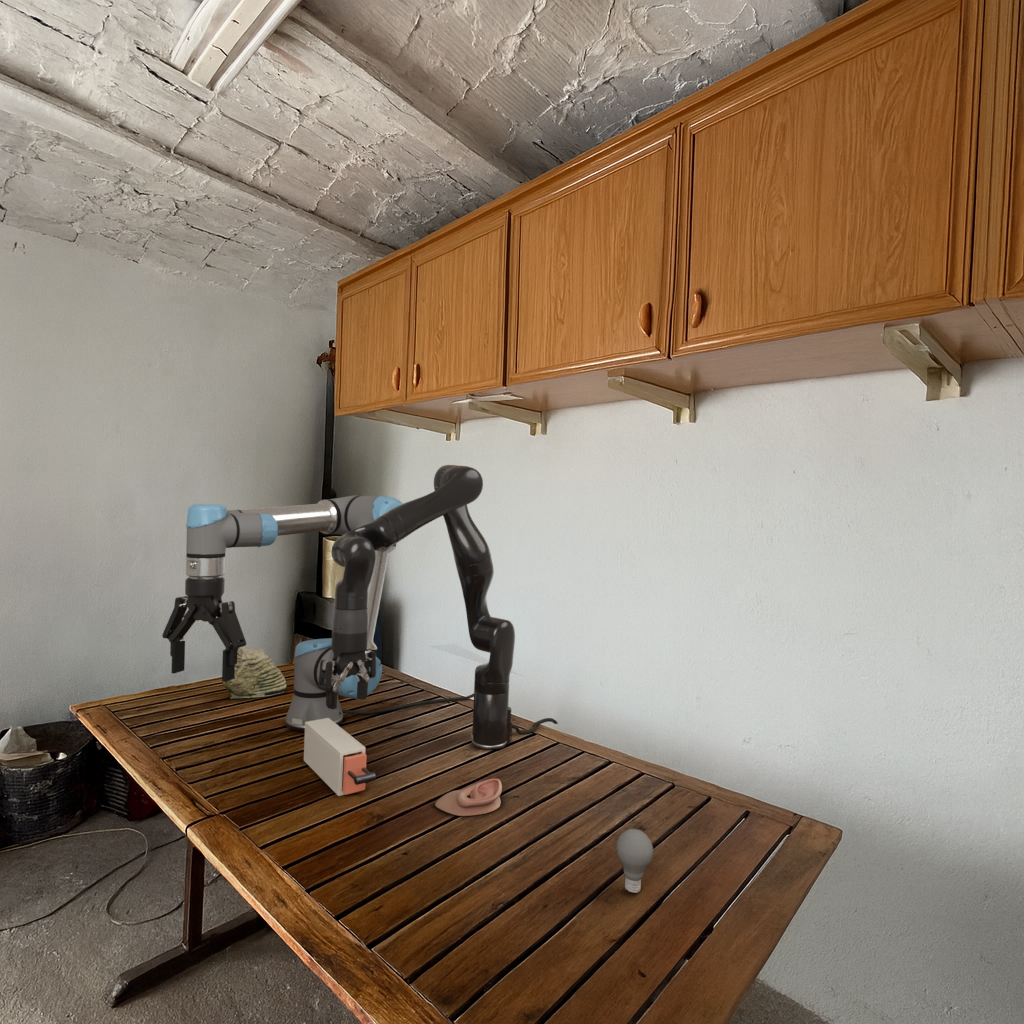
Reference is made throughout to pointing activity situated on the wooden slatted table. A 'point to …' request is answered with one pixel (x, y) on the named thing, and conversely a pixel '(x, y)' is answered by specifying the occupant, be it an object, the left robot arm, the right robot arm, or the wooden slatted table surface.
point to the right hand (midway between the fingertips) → (347, 703)
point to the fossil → (255, 675)
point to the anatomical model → (472, 799)
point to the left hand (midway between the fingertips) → (202, 676)
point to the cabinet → (328, 751)
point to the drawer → (355, 773)
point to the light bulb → (634, 857)
